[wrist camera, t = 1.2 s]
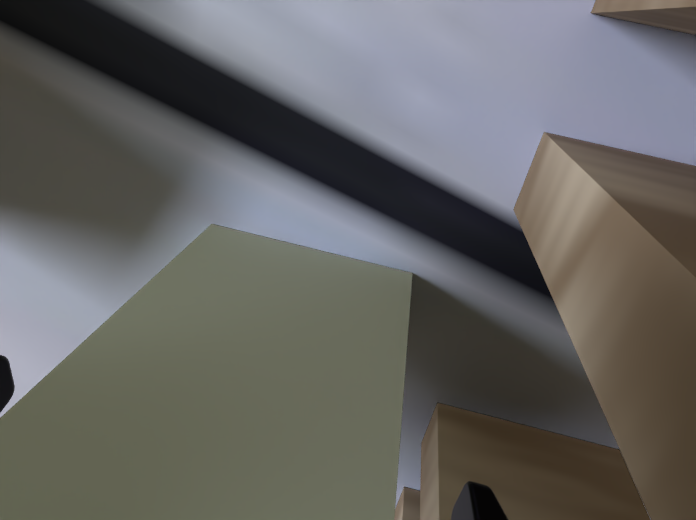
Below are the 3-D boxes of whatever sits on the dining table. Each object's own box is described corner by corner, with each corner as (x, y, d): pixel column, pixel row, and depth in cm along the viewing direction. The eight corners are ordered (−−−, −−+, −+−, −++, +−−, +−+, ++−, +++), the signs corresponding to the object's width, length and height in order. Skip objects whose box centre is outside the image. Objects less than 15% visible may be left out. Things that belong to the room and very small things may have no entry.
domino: (396, 328, 14) (336, 845, 5) (209, 281, 14) (-145, 693, 5) (412, 273, 13) (373, 793, 4) (211, 224, 13) (-213, 613, 5)
